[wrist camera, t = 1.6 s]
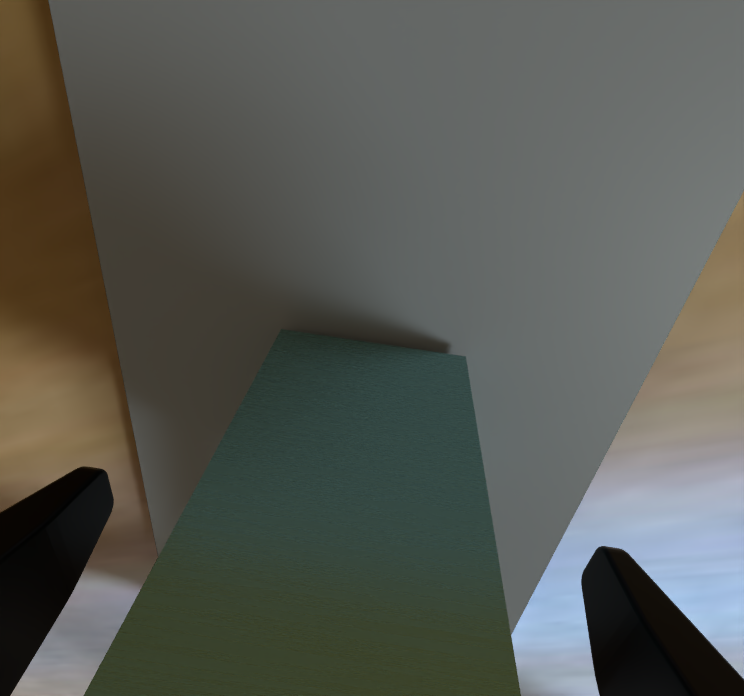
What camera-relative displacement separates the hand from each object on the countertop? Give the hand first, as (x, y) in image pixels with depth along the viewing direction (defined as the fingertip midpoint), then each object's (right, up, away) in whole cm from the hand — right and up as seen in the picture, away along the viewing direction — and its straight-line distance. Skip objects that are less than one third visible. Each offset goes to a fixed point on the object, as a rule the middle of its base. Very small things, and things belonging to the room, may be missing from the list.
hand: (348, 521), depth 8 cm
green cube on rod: (-1, -4, +6) cm, 7 cm away
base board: (0, +1, +4) cm, 4 cm away
